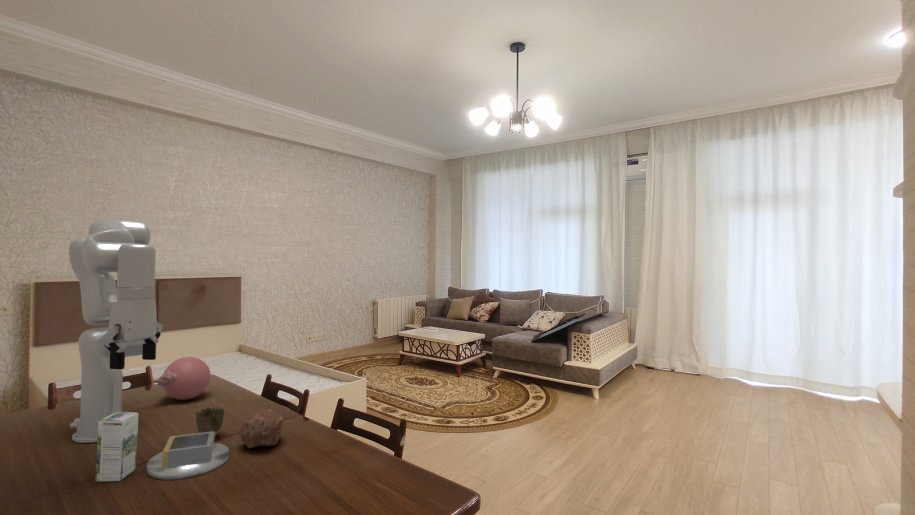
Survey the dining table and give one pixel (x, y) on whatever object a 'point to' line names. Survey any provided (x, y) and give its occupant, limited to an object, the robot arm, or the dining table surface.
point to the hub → (188, 457)
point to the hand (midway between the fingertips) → (133, 364)
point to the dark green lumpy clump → (210, 420)
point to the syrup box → (116, 446)
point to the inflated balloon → (185, 378)
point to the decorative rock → (261, 429)
